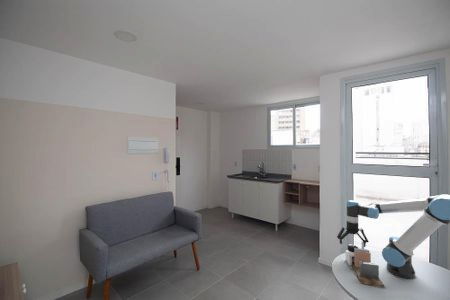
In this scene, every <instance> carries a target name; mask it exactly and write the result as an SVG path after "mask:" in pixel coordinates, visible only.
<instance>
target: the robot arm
mask: <svg viewBox="0 0 450 300" xmlns="http://www.w3.org/2000/svg"><path fill="white" fill-rule="evenodd" d="M414 212H417V213H418V212H423V214H422V215H421V216H420V217H419V218H417V220H416V221H415V222H414V223H413V224H412V225H411V226H410V227H409V228H408V229H406V231H404V232H403V234H401V236H400V237H399V236H390V237H389V239H388V243H387V245H385V247H384V248H383V249H382V251H381V256H382V258H383V260H385V263H386V270H387V271H388V272H389V273H391V274H393V275H395V276H398V277H400V278H402V279H403V278H404V279H415V278H416V271H415V268H414V267H413V266H414V265H413V262H412V258H413V256H414V251H415V249H417V248H418V247H419V246H420V245H421V244H422V243H424V241H426V240H427V239H428V238H429V237H430V236H431V235H433V233H434V232H435V231H436V230H438V229H439V228H440V227H441V226H443V225H449V224H450V194H438V195H434V196H432V195H431V196H426V197H425V198H421V199H408V200H396V201H388V202H387V201H386V202H384V201H383V202H371V203H369V204H367V205H361V204H359V201H358V200H353V199H352V200H351V199H349V200H347V201H346V226H343V225H342V226H341V229H340V231H339V233H338V234H337V236H336V238H337V239H338V240H339V244H340V248H341V250H343V249H344V239H345V237H347V236H348V235H357V236H358V237H359V238H360V240H361V249H364V250H365V248H366V246H367V245H366V244H367V243H369V242H370V241H369V240H368V239H369V238H367V235H366V234H365V231H364V229H363V228H362V227H360V228H359V216H362V217H366V218H370V219H374V220H376V219H378V218H379V217H380V215H382V214H396V213H414ZM359 232H360V233H361V234H362V236H361V235H360V233H359Z"/></svg>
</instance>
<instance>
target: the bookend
mask: <svg viewBox="0 0 450 300" xmlns="http://www.w3.org/2000/svg"><path fill="white" fill-rule="evenodd" d="M379 268H380V266H379V264H378V263H373V262H371V263H367V262H360V276H361V277H365V278H371V279H378V280H379V278H380V275H379V274H380V269H379Z"/></svg>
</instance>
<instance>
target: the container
mask: <svg viewBox="0 0 450 300" xmlns="http://www.w3.org/2000/svg"><path fill="white" fill-rule="evenodd" d="M354 248H356V249H359V247H358V245H357V246H356V245H355V244H348V245H347V250H345V261H346V262H347V264H348V265H349V266H352V264H354Z"/></svg>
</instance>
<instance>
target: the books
mask: <svg viewBox="0 0 450 300" xmlns="http://www.w3.org/2000/svg"><path fill="white" fill-rule="evenodd" d="M371 254H372V253H371V252H370V249H365V248H364V249H362V248H358V249H356V248H354V264H355V267H360V262H367V263H372V258H371V257H372V255H371Z"/></svg>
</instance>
